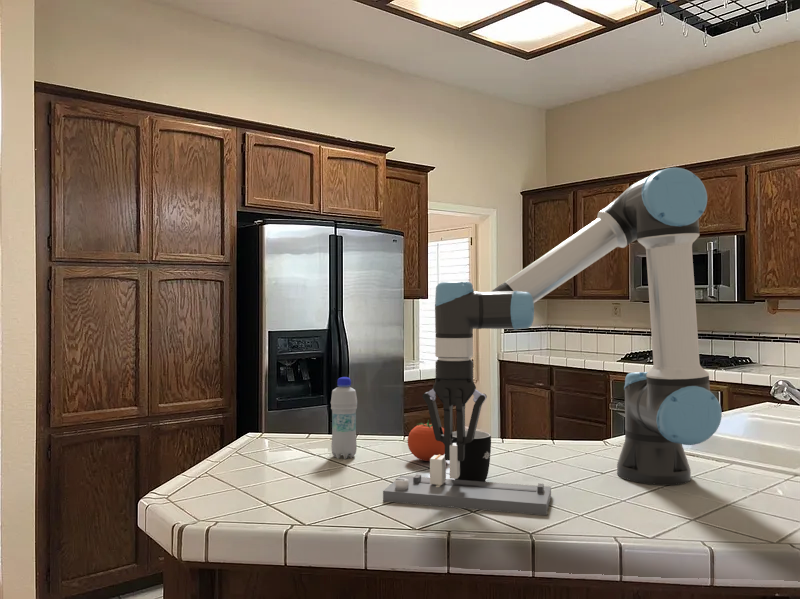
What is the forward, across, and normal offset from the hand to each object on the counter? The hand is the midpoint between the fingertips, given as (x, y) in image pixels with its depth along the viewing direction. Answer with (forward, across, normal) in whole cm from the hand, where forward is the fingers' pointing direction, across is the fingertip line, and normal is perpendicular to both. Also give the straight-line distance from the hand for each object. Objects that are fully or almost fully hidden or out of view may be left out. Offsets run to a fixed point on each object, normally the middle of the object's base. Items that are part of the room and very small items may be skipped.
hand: (454, 476), depth 133 cm
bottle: (+4, +34, -25) cm, 42 cm away
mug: (+4, -1, -12) cm, 13 cm away
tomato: (+4, +12, -27) cm, 30 cm away
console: (+4, -3, +2) cm, 5 cm away
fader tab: (+1, +3, 0) cm, 4 cm away
